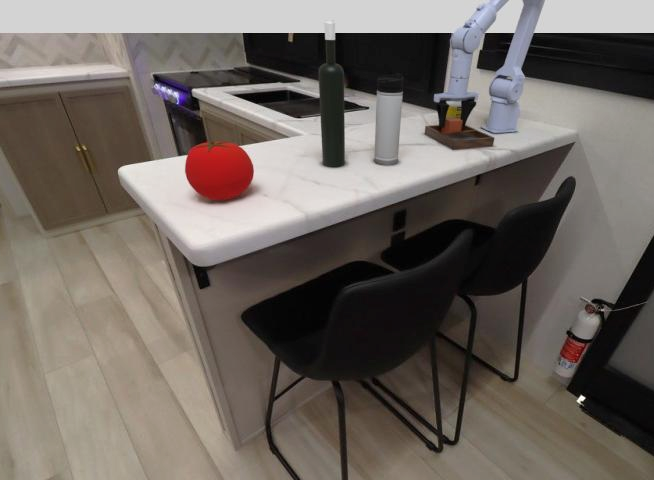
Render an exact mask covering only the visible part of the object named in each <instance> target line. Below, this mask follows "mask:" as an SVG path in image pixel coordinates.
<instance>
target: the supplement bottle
mask: <svg viewBox="0 0 654 480" xmlns="http://www.w3.org/2000/svg"><path fill="white" fill-rule="evenodd" d="M452 99H456V98H452ZM446 103H447V104H449V105H450V106H449V108H448V111H447V115H446V118H449V117H456V118H458V119H460V117H461V101H446Z"/></svg>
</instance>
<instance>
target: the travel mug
mask: <svg viewBox="0 0 654 480" xmlns="http://www.w3.org/2000/svg"><path fill="white" fill-rule="evenodd" d="M404 77H405V76H403V74H402V73H394V74H386V75H381V76H378V77H377V82H376V83H377V85H376V86H377V88H376V104H375V131H374V132H375V133H374V157H373V158H374V159H373V160H374V162H375V163H376V164H378V165H382V166H393V165H396V164H398V161H399V149H400V136H401V135H400V134H401V123H402V122H401V121H402V109H403V108H402V107H403V96H404V95H403V94H404V88H403V87H404V80H405V78H404Z"/></svg>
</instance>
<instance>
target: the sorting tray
mask: <svg viewBox="0 0 654 480" xmlns="http://www.w3.org/2000/svg"><path fill="white" fill-rule="evenodd" d="M441 130H442V127H440V126H439V124H434V125H425V126H424V135H425V136H427V137H429V138H430V139H433V140H434V141H436V142H438V143H440V144H442V145H443V146H445V147H446V148H449V149H450V150H452V151H458V150H467V149H468V150H469V149H479V148H489V147H490V148H491V147H493V146H494V143H495V137H494V136H492V135H490V134H487V133H485V132H483V131H481V130H478V129H477V128H474V127H471V126H469V125H467V124H465V126H462V127H461V131H457V132H444V133H441Z"/></svg>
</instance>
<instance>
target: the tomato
mask: <svg viewBox="0 0 654 480" xmlns="http://www.w3.org/2000/svg"><path fill="white" fill-rule="evenodd" d="M184 173H185V177H186V180H187V182H188V184H189V186H190V187H191V188H192V189H193V190H194V191H195V192H196V193H197V194H198V195H200V196H202V197H204V198H207V199H209V200H213V201H226V200H230V199H234V198H237V197H238V196H240V195H242V194H243V193H244V192H245V191H246V190H247V189H248V188H250V187H249V186H250V185H251V184H252V181H253V179H254V174H255V169H254V164H253V162H252V159H251V156H250V155H249V154H248V152H246V150H245V149H244V148H243V147H241V146H239V145H238V144H235V143H233V142H230V141H214V140H211V141H209V140H206V142H202V143H199V144H197V145H195V146H192V147H191V149H190V150H189V151H188V152H187V155H186V159H185V163H184Z"/></svg>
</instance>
